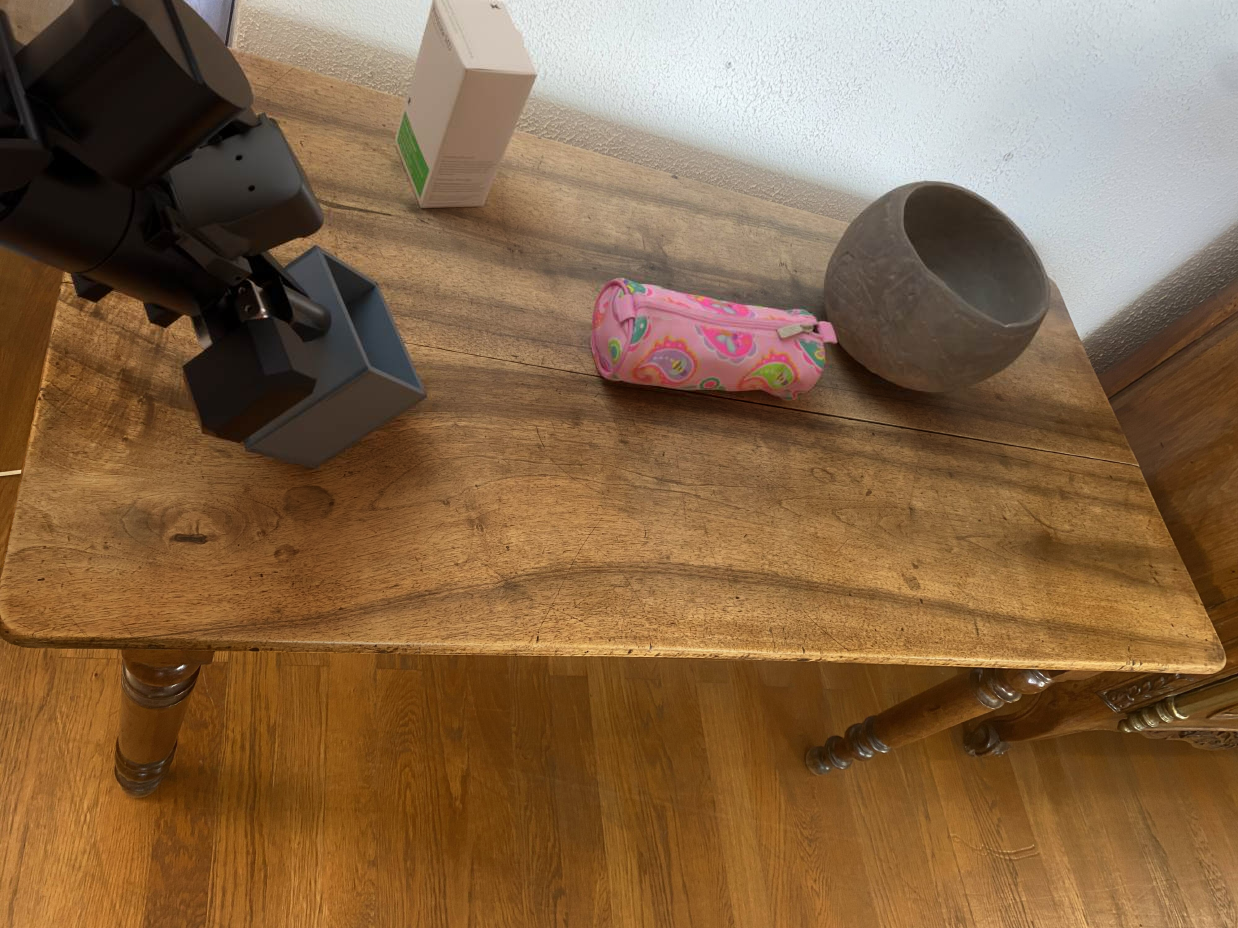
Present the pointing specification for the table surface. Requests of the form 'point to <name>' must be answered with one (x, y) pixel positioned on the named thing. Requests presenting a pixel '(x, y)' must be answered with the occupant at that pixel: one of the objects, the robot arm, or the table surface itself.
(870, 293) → the bowl
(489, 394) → the table surface
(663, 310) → the pencil case
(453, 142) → the cosmetic box
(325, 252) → the grey box with peg
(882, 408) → the table surface
